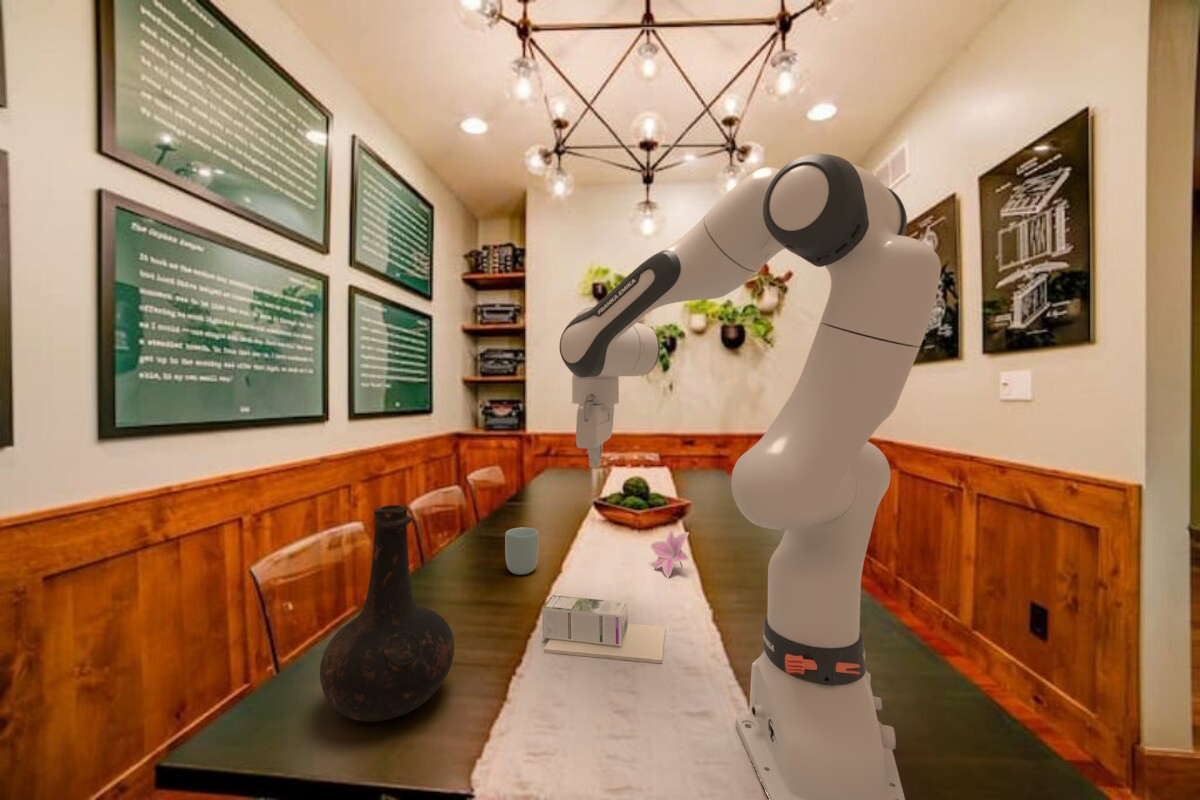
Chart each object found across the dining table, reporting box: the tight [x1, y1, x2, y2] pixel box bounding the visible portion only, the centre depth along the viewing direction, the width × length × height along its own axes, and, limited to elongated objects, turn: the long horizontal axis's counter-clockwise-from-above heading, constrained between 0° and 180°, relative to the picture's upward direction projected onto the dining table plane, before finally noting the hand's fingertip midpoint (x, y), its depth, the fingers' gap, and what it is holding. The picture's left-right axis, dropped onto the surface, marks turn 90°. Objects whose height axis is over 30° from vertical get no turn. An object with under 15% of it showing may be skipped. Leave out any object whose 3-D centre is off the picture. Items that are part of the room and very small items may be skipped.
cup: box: [504, 526, 539, 576], centre depth 126 cm, size 8×8×10 cm
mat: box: [543, 623, 666, 665], centre depth 92 cm, size 12×20×1 cm, turn 80°
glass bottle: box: [319, 504, 455, 723], centre depth 74 cm, size 18×18×28 cm
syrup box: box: [541, 595, 629, 646], centre depth 92 cm, size 6×6×14 cm
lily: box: [649, 529, 690, 576], centre depth 128 cm, size 12×12×10 cm
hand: (595, 467), depth 98 cm, fingers closed
